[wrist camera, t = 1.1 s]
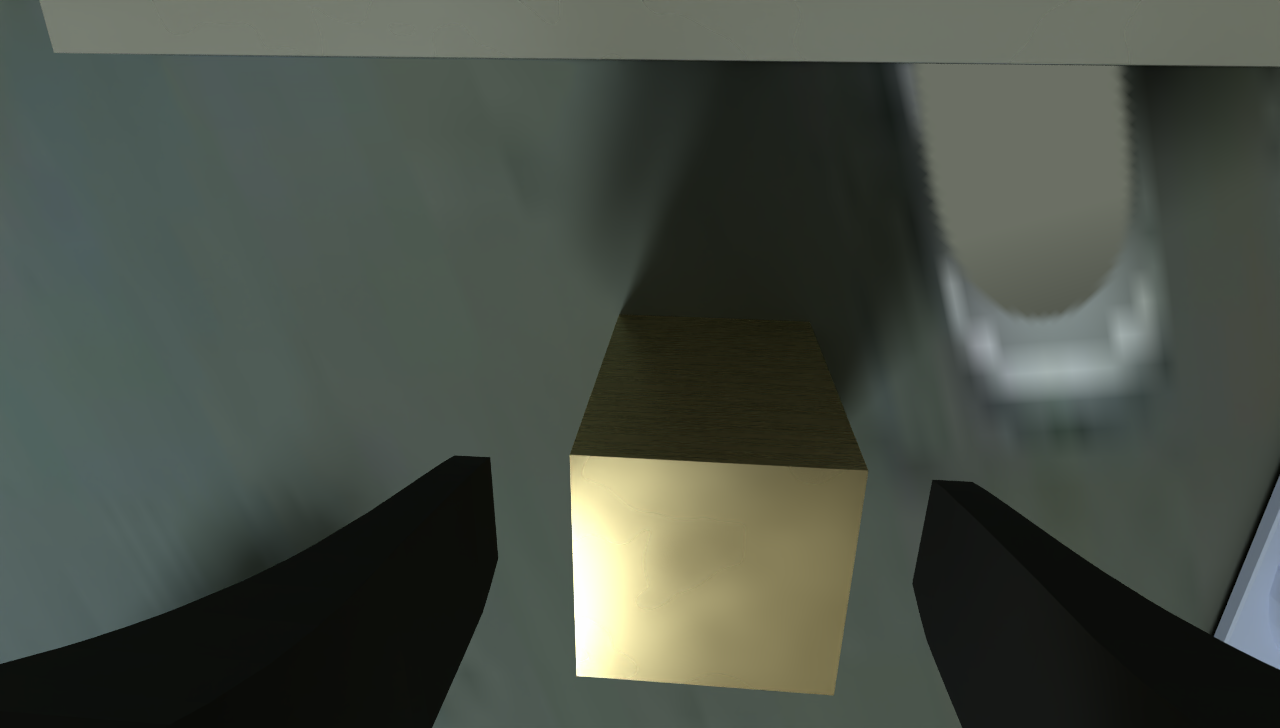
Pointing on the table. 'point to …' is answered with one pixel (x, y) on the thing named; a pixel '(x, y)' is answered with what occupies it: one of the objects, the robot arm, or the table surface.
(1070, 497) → the table surface
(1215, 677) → the robot arm
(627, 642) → the brass block
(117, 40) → the grey flat rectangular plate
